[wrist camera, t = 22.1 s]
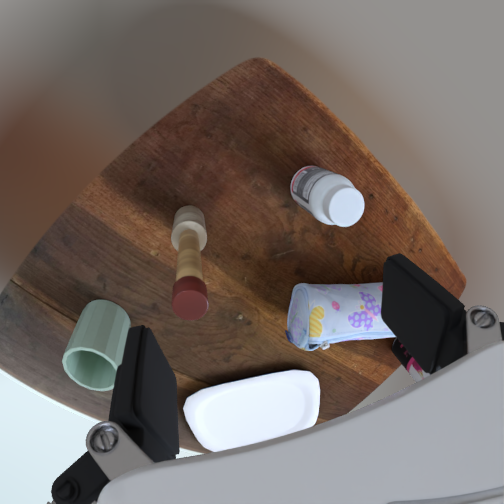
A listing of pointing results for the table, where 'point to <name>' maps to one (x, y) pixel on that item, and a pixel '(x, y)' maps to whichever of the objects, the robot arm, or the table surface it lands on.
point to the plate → (253, 409)
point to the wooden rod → (189, 264)
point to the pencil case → (335, 314)
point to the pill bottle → (327, 196)
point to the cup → (97, 345)
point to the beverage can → (408, 361)
